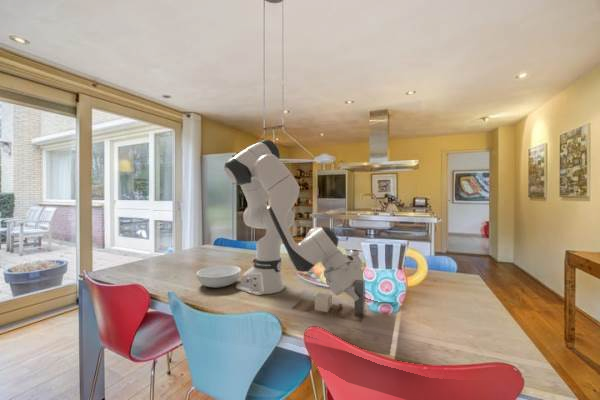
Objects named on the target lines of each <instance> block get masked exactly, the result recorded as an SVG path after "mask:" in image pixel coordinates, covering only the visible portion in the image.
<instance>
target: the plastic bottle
mask: <svg viewBox="0 0 600 400" xmlns="http://www.w3.org/2000/svg"><path fill="white" fill-rule="evenodd" d="M359 252H360V251H359V250H358V249H350V251H349V255H350V256H353V257H354V259H355V260H354V261H355V262H356V263H357V264H358V265H359V266H360V267H361V268H362V266H363V262H362V259H361V258H360V256H359V255H360V253H359ZM362 269H363V268H362ZM351 288H352V289H353V291H354V292H355V286H353V287H351Z"/></svg>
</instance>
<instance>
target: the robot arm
mask: <svg viewBox="0 0 600 400" xmlns="http://www.w3.org/2000/svg"><path fill="white" fill-rule="evenodd" d="M280 155H281V153H280V150H279V148H278V146H277V144H276V143H275V142H274V141H272V140H270V139H269V138H268V139H266V138H265V139H263V140H260V141H257V143H253V144H252V145H250V146H248V147H246V148H244V149H243V150H241V151H240V152H239V153H237V154H236V155H235V156H233V157H230V158H229V159H228V160H227V161H226V162H225V164H224V171H225V175H226V176H227V178H228V179H229V180H230V181H231V182H232V183H233V184H234V185H237V186H240V188H241V190H242V193H243V195H244V197H245V200H246V202H247V206H246V208H245V210H244V212H243V214H242V219H243V223H244V224H245V226H247V227H250V228H254V229H261V230H262V229H263V230H266V232H265V235H264V236H262V237H261V238H259V239H258V241H257V242H256V257H255V258H254V259H252V260H251V264H253V265H252V266H251V267H250V268H249V269H247V270H246V271H245V272H244V273H243V274H242V275H241V281H240V282H239V283H238V284H236V287H235V289H236V290H240V291H243V292H246V293H250V294H252V295H255V296H261V295H262V296H263V295H268V294H276V293H279V292H281V291H283V290H284V288H285V287H284V284H283V280H282V279H283V278H282V272H281V271H282V258H281V246H282V245H281V244H282V243H283V245H284V247H285V250H286V251H287V255H288V258H289V261H290V263H291V265H292V266H293V268H294V269H295V270H297V272H305V273H306V272H309V271H310V270H312V269H313V268H314V267H315V266H316V265H317V264H318V263H321V265H322V266H323V268H324V269H325V270H323V277H325V278H326V282H327V284H328V285H329V287H330V288H329V289H330V291H331V292H332V294H334V295H335V296H339V295H341V294H342V293H344V292H345V294H346V295H348V296H349V297H351V298H352V299H353V300H354V302H355V301H357V300H358V299H359V298H360V296H359V295H358V293H357V294H356V293H355V292H354V291H353V289H352V288H351V287H353V286H355V281H356V280H363V272H364V273H365V271H364V270H363V268H361V267H360V266H359V265H358V264H357V263H356V262H355V261H354V260H355V259H354V257H353V256H351V255H350V254H349V255H348V254H345V253H343V252H342V251H341V249H339V248H338V245H339V238H338V236H336V235H335V233H334V232H333V231H332V230H331V228H330V227H328V226H320V227H319V226H316V227H313V228H311V229H310V230H309V231H308V232H307V233H306V234H305V238H303V239H302V240H300V241H299V242H296V241H295V239H294V238H293V234H292V233H291V231H290V228H291V227H292V226H293V225H294V222H295V214H294V211H293V210H292V208H293V207H294V205H295V204H296V202H297V201H298V198H299V195H300V185H299V184H298V181H297V180H296V178H295V176H294V175H293V174H292V172H291V170H289V168H288V167H287V166H286V165H285V164H284V162H283V161H282V160H281V159H280ZM268 201H270V204H269V205H268V204H267V203H268ZM366 294H367V292H366V290H365V295H366Z"/></svg>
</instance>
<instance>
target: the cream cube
mask: <svg viewBox="0 0 600 400" xmlns="http://www.w3.org/2000/svg"><path fill="white" fill-rule="evenodd" d="M314 301H315V310H318V311H324V312H328V311H329V310H330V309H331V307H332V304H333V303H332V302H333V293H329V292H328V293H327V292H323V291H322V292H321V291H319V292H318V293H316V295H314Z"/></svg>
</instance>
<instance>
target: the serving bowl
mask: <svg viewBox="0 0 600 400" xmlns="http://www.w3.org/2000/svg"><path fill="white" fill-rule="evenodd" d="M241 273H242V269H241V268H240V267H239V266H235V265H217V266H210V267H205V268H202V269H200V270H198V271H197V272H196V277H197V278H196V279H197V281H198V282H199V283H200V284H201V285H202V286H204V287H208V288H215V289H216V288H219V289H220V288H224V287H227V286H230V285H232V284H234V283H236V282H237V281H238V280H239V278H240V276H241Z"/></svg>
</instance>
